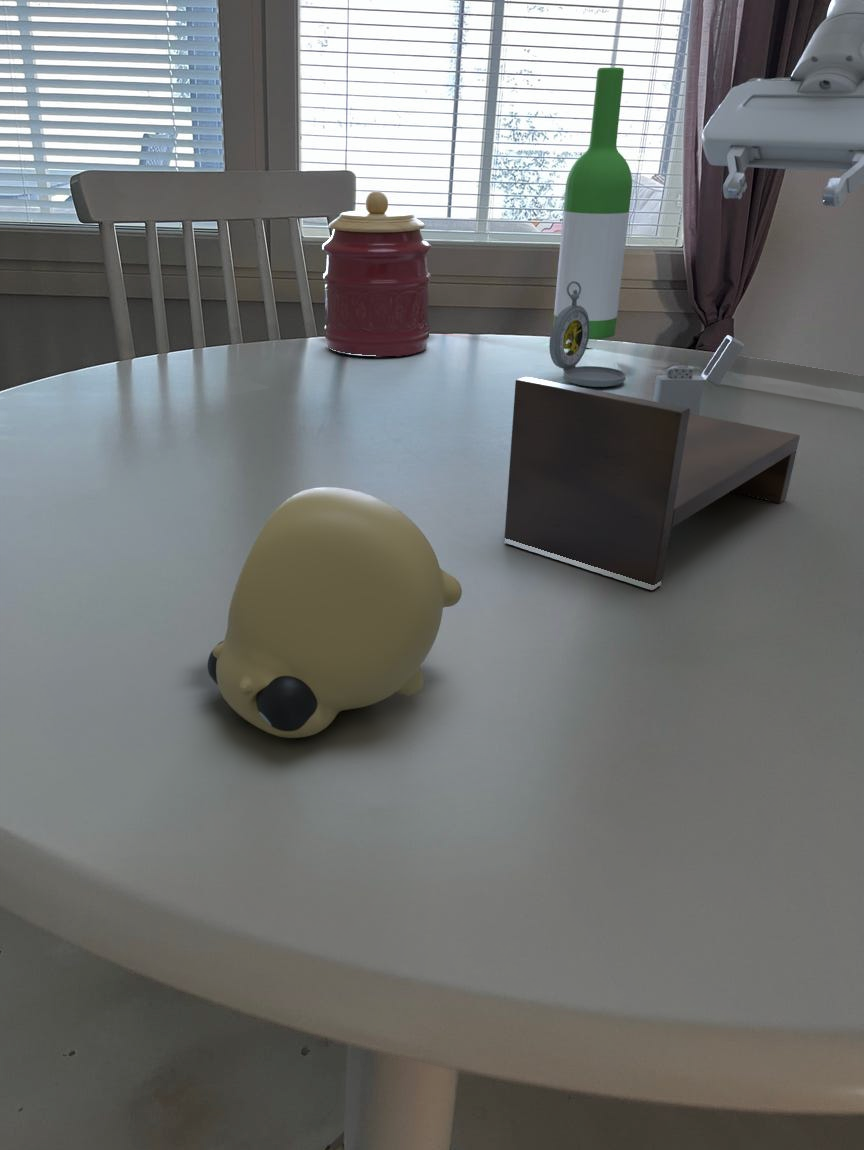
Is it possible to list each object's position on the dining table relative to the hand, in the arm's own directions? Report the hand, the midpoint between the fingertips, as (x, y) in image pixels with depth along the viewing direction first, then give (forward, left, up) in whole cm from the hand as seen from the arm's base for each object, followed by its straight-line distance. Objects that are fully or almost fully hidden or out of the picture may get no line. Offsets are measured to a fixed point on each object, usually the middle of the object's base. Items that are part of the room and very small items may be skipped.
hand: (779, 197), depth 87 cm
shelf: (-9, +36, -19) cm, 42 cm away
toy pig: (-8, +69, -19) cm, 72 cm away
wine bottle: (+26, -12, -19) cm, 34 cm away
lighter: (0, +12, -19) cm, 23 cm away
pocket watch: (+16, +4, -19) cm, 25 cm away
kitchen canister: (+44, +7, -19) cm, 48 cm away
